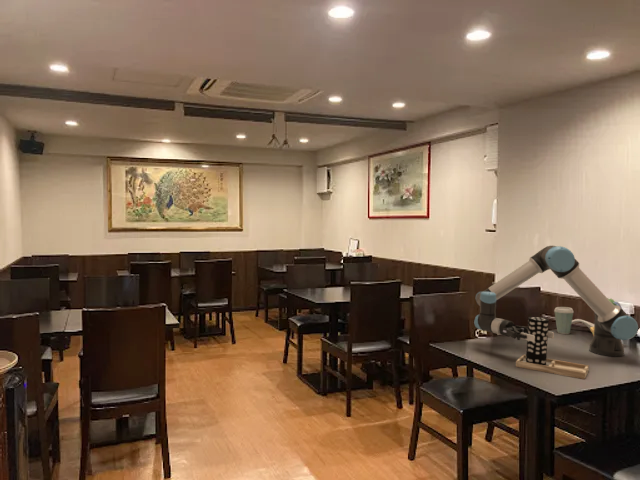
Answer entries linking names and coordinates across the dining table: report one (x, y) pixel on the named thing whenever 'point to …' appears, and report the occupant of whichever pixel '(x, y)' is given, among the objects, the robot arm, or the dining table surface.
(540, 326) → the spotted tube
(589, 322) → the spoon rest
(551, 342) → the dining table surface
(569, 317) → the disposable coffee cup
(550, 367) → the tray
